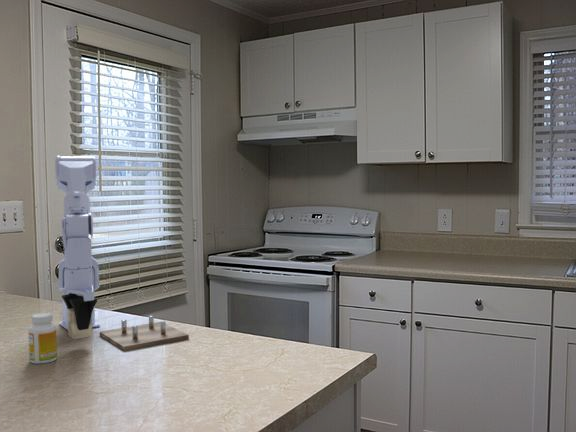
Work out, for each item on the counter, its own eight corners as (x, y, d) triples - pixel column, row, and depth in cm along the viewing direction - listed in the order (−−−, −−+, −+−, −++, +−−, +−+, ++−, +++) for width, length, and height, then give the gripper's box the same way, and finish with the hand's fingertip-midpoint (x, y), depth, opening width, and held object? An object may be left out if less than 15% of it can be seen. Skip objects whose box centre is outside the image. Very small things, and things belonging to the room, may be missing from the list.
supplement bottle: (61, 356, 126) (60, 312, 125) (49, 364, 120) (47, 318, 120) (38, 356, 126) (36, 311, 126) (24, 363, 121) (22, 317, 120)
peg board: (99, 335, 142) (99, 319, 142) (160, 325, 152) (160, 310, 152) (123, 351, 130) (123, 333, 129) (188, 338, 139) (188, 322, 139)
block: (68, 335, 132) (68, 309, 132) (86, 332, 135) (85, 306, 134) (74, 339, 129) (73, 312, 129) (92, 336, 131) (91, 309, 131)
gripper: (51, 265, 134) (53, 323, 135) (69, 273, 122) (71, 337, 123) (82, 262, 138) (83, 318, 139) (102, 270, 127) (104, 331, 128)
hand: (80, 327), depth 132 cm, fingers closed on block, 4 cm apart
